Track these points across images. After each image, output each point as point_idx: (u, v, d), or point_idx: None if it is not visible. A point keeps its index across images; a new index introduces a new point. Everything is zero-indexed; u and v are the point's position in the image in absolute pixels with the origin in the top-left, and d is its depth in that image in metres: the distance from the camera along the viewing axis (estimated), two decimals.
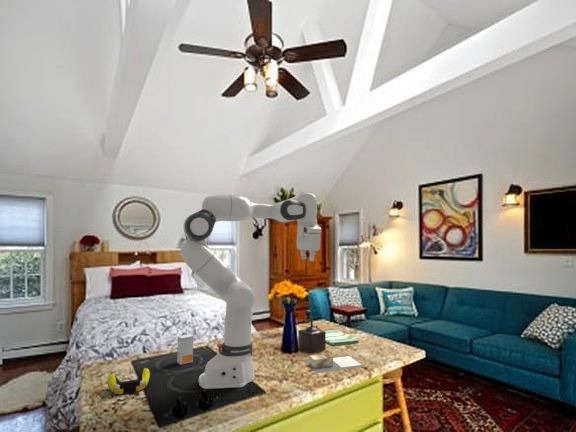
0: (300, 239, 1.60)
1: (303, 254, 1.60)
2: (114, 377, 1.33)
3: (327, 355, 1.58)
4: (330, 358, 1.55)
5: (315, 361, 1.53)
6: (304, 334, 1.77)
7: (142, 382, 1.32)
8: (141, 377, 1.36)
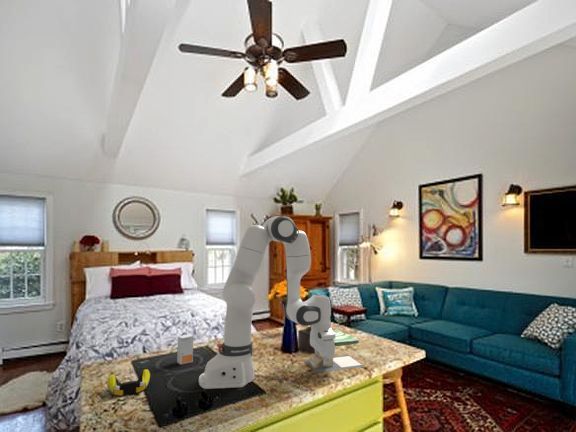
0: (313, 338, 1.62)
1: (317, 353, 1.61)
2: (114, 378, 1.32)
3: None
4: (330, 358, 1.55)
5: (315, 361, 1.53)
6: (304, 334, 1.77)
7: (142, 383, 1.31)
8: (141, 378, 1.35)
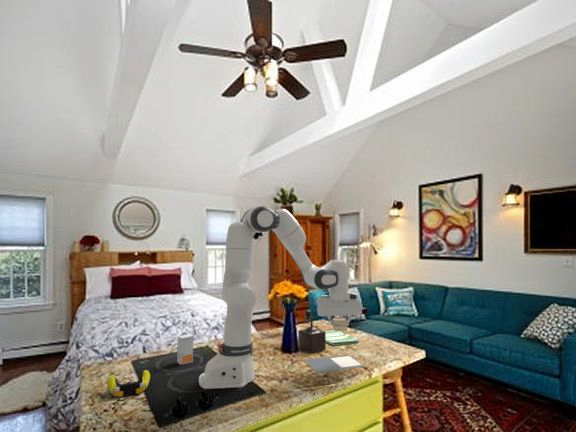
0: (328, 306, 1.59)
1: None
2: (114, 379, 1.31)
3: (338, 318, 1.64)
4: None
5: None
6: (304, 334, 1.77)
7: (142, 384, 1.30)
8: (141, 379, 1.34)
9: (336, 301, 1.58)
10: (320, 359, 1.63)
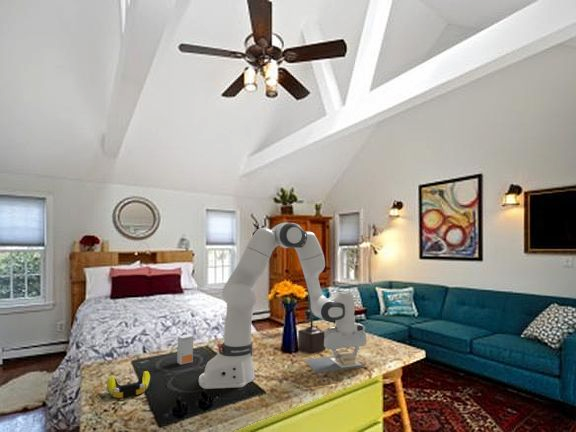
0: (336, 338, 1.58)
1: None
2: (113, 380, 1.30)
3: (341, 351, 1.64)
4: None
5: None
6: (304, 334, 1.77)
7: (142, 385, 1.29)
8: (141, 380, 1.33)
9: (344, 333, 1.58)
10: (320, 359, 1.63)
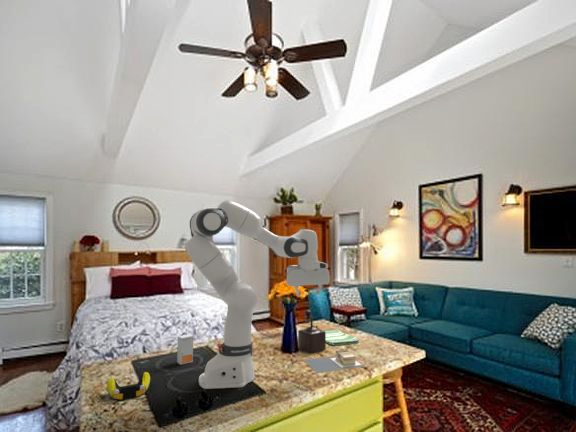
0: (298, 275, 1.57)
1: None
2: (113, 381, 1.29)
3: (341, 351, 1.64)
4: None
5: None
6: (304, 334, 1.77)
7: (142, 387, 1.28)
8: (141, 381, 1.32)
9: (307, 270, 1.57)
10: (320, 359, 1.63)
